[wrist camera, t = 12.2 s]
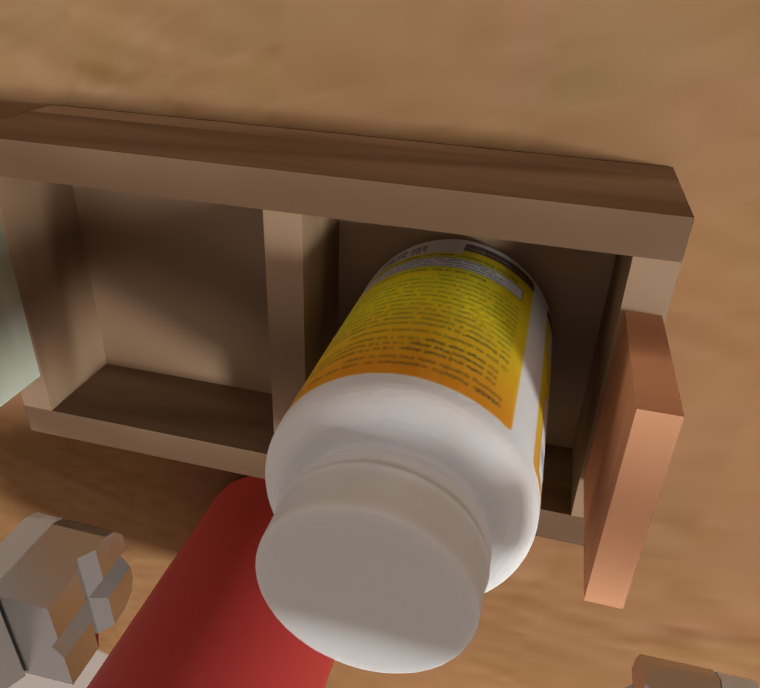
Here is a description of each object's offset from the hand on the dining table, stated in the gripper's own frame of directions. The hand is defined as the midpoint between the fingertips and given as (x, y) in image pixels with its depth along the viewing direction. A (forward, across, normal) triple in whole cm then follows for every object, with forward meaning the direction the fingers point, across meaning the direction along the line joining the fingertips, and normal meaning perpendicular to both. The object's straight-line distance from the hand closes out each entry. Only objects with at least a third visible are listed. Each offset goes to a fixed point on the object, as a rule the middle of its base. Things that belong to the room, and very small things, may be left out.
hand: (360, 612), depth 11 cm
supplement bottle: (+11, 0, +1) cm, 11 cm away
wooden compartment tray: (+12, +4, +1) cm, 13 cm away
